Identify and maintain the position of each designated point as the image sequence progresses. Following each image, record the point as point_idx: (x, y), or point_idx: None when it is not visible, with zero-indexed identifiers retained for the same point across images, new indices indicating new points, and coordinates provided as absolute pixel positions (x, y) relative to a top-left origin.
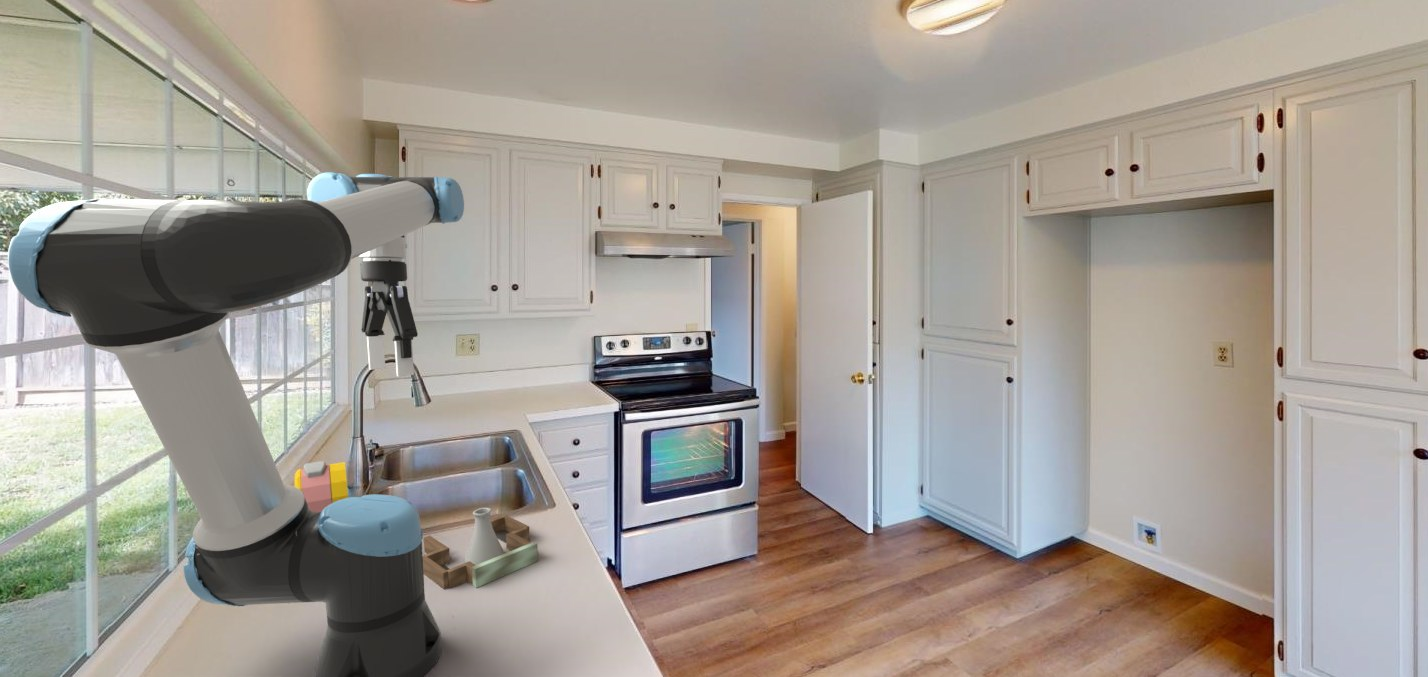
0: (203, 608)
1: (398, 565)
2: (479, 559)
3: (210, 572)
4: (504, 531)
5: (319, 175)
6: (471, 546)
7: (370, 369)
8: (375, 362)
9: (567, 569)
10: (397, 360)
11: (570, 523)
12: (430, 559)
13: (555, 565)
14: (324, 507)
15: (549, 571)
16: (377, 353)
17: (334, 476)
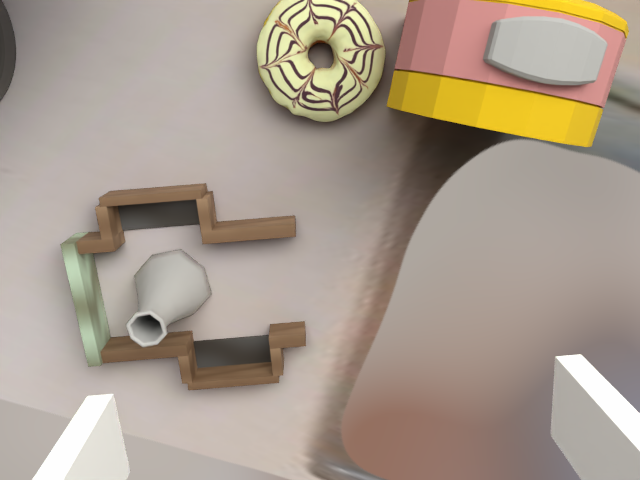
0: None
1: None
2: (144, 272)
3: None
4: (265, 357)
5: None
6: (162, 274)
7: (555, 357)
8: (574, 413)
9: (35, 368)
10: (41, 469)
11: (210, 456)
12: (175, 200)
13: (63, 361)
14: (405, 51)
15: (49, 345)
16: (607, 472)
17: (463, 91)
